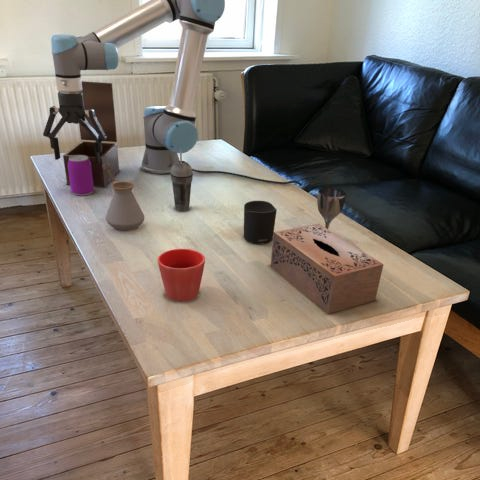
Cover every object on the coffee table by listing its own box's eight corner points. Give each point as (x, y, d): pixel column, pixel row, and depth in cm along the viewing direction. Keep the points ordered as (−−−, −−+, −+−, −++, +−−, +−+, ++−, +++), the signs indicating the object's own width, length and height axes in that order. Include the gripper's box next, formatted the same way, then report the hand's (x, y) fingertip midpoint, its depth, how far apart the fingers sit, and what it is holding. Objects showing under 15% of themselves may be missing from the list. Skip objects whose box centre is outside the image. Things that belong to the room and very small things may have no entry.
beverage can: (87, 187, 182) (83, 152, 175) (98, 193, 177) (94, 158, 170) (67, 191, 177) (62, 156, 170) (78, 198, 172) (73, 162, 166)
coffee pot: (150, 230, 154) (148, 181, 145) (113, 237, 149) (108, 186, 140) (126, 206, 169) (122, 160, 160) (91, 211, 164) (86, 164, 155)
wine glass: (340, 237, 156) (348, 190, 147) (335, 248, 149) (343, 198, 141) (314, 233, 158) (321, 185, 149) (309, 243, 151) (315, 194, 143)
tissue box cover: (375, 300, 126) (383, 264, 120) (328, 313, 120) (334, 276, 114) (314, 256, 144) (318, 223, 139) (270, 266, 138) (273, 232, 133)
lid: (111, 83, 180) (116, 80, 186) (73, 81, 181) (80, 77, 187) (116, 142, 192) (121, 137, 198) (80, 139, 192) (86, 134, 198)
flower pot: (160, 283, 128) (158, 247, 122) (204, 283, 129) (204, 248, 124) (158, 305, 119) (156, 268, 114) (205, 305, 120) (205, 268, 115)
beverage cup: (195, 205, 172) (195, 144, 161) (191, 213, 166) (190, 151, 155) (173, 203, 172) (172, 143, 161) (169, 211, 166) (167, 149, 155)
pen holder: (237, 241, 150) (239, 209, 145) (249, 229, 157) (251, 198, 152) (267, 247, 147) (270, 215, 142) (278, 235, 155) (281, 204, 149)
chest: (104, 187, 182) (101, 158, 176) (67, 184, 183) (62, 155, 177) (119, 170, 198) (117, 143, 192) (84, 168, 199) (81, 140, 193)
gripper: (25, 90, 156) (36, 160, 168) (106, 96, 156) (111, 166, 167) (35, 86, 163) (45, 154, 174) (113, 92, 162) (118, 159, 173)
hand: (78, 160), depth 171 cm, fingers open, 13 cm apart
